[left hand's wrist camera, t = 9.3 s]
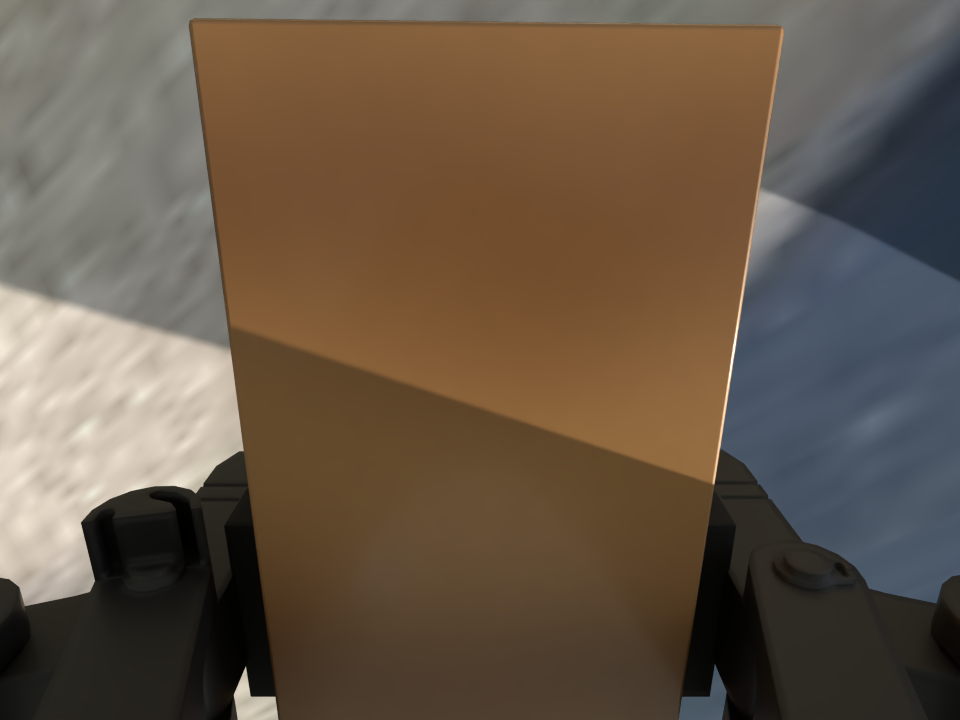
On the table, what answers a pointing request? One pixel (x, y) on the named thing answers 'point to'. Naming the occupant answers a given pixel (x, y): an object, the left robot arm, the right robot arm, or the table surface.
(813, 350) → the table surface
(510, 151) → the beam
